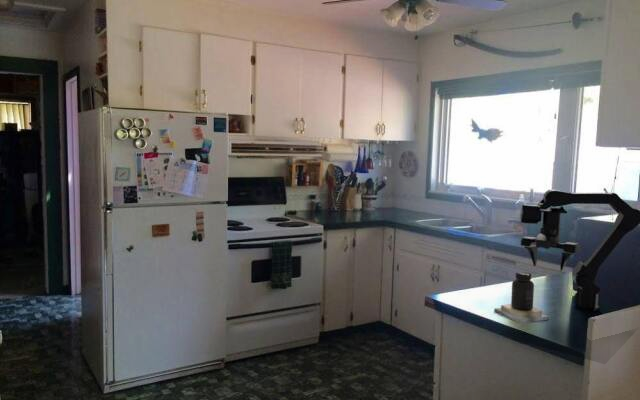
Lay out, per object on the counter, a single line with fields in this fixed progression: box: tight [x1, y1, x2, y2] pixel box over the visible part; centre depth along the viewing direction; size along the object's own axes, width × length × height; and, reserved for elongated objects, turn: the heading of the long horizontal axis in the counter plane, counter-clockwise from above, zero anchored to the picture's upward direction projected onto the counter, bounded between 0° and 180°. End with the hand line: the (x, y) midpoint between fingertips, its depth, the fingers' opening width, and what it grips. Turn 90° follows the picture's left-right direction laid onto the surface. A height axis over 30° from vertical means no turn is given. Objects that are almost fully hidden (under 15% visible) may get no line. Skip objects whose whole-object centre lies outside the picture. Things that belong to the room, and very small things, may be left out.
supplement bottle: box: [510, 270, 535, 311], centre depth 171 cm, size 7×7×12 cm
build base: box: [493, 303, 550, 324], centre depth 172 cm, size 12×12×2 cm
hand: (547, 268), depth 185 cm, fingers open, 9 cm apart
